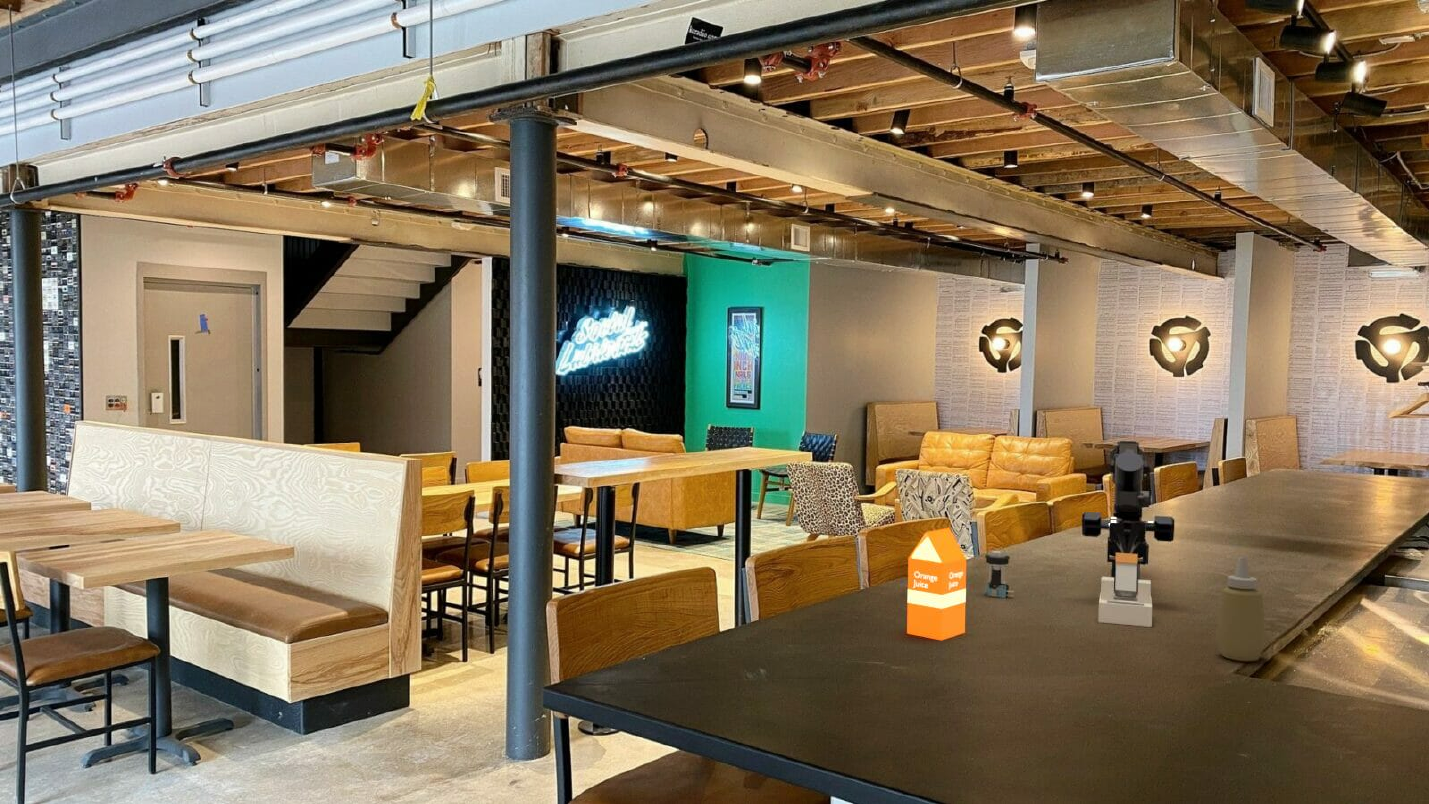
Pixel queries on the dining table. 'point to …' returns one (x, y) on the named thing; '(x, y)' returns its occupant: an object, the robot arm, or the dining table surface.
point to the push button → (997, 574)
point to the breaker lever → (1126, 575)
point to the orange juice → (936, 587)
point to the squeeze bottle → (1241, 617)
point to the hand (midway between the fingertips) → (1126, 557)
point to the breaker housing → (1125, 605)
